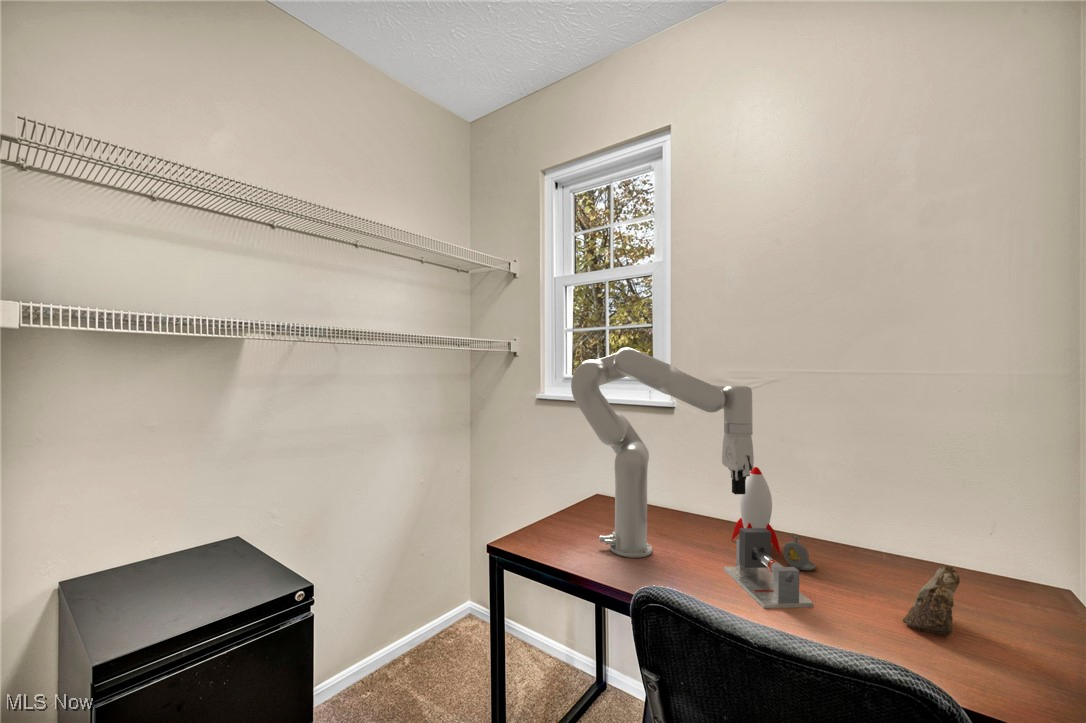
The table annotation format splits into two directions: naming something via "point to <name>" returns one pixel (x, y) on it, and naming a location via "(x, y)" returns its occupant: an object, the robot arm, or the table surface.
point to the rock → (935, 603)
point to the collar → (753, 546)
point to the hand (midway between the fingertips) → (738, 493)
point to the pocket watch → (797, 555)
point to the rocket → (756, 506)
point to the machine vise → (769, 582)
